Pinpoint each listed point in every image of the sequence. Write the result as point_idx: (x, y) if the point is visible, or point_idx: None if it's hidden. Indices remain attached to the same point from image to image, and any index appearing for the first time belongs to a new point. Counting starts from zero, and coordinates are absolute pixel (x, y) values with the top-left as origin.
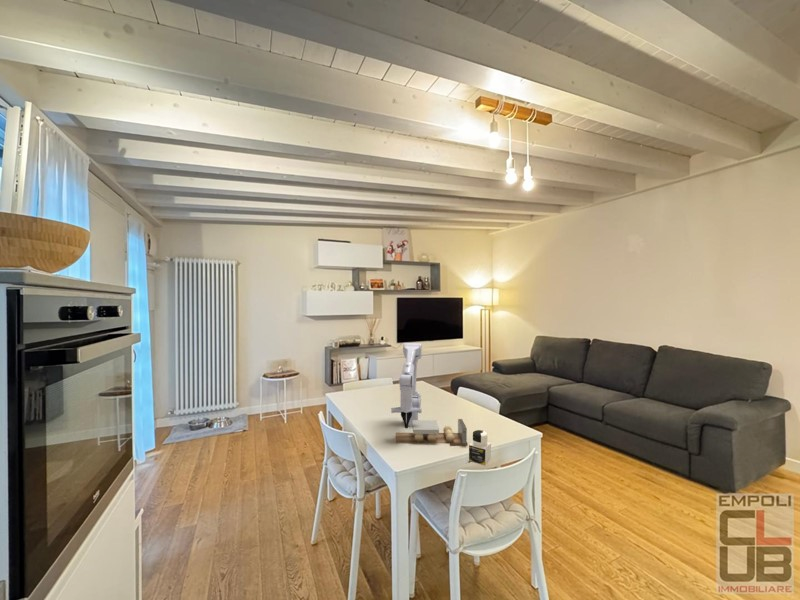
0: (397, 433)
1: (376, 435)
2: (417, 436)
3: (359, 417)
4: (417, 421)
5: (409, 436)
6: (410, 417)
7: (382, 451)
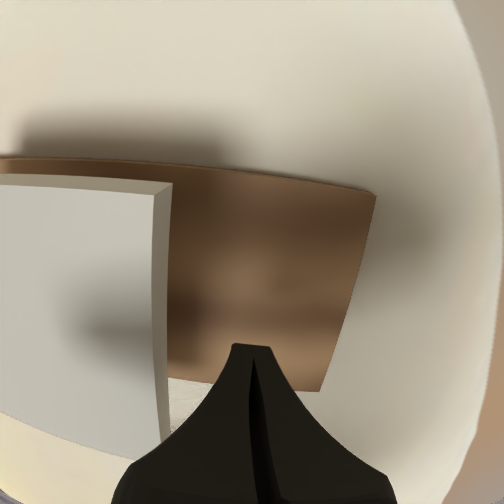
0: (311, 379)
1: (442, 366)
2: None
3: (416, 497)
4: (106, 433)
5: (214, 319)
6: (159, 453)
7: (473, 101)
